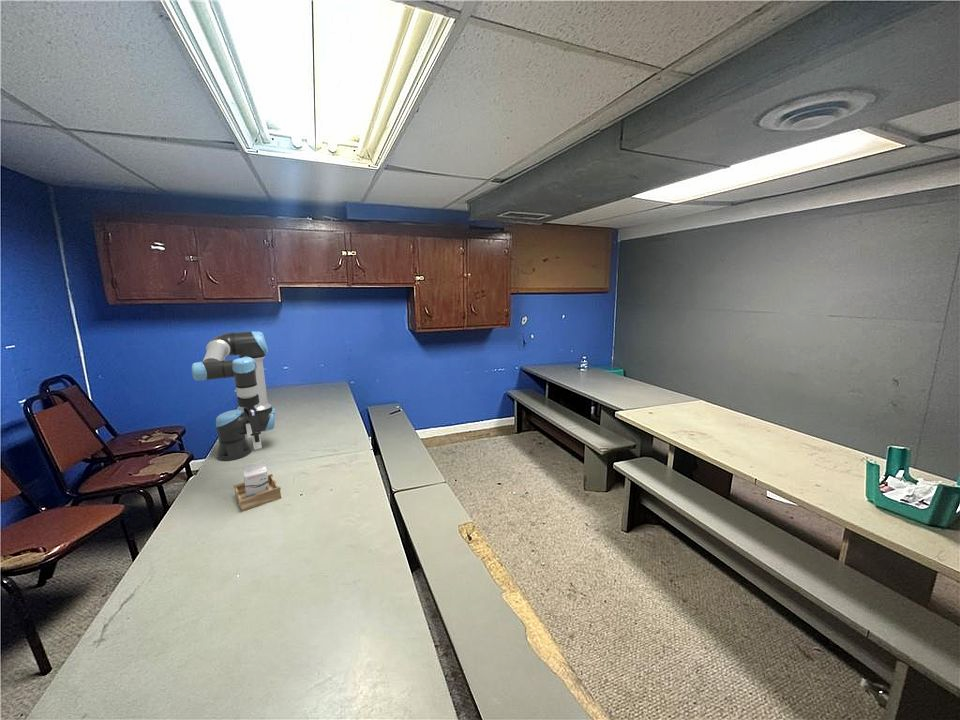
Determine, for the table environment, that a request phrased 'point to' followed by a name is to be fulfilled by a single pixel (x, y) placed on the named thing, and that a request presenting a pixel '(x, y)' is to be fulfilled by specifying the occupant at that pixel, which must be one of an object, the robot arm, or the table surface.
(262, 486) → the ink box
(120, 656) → the table surface
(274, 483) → the crate
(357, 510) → the table surface
